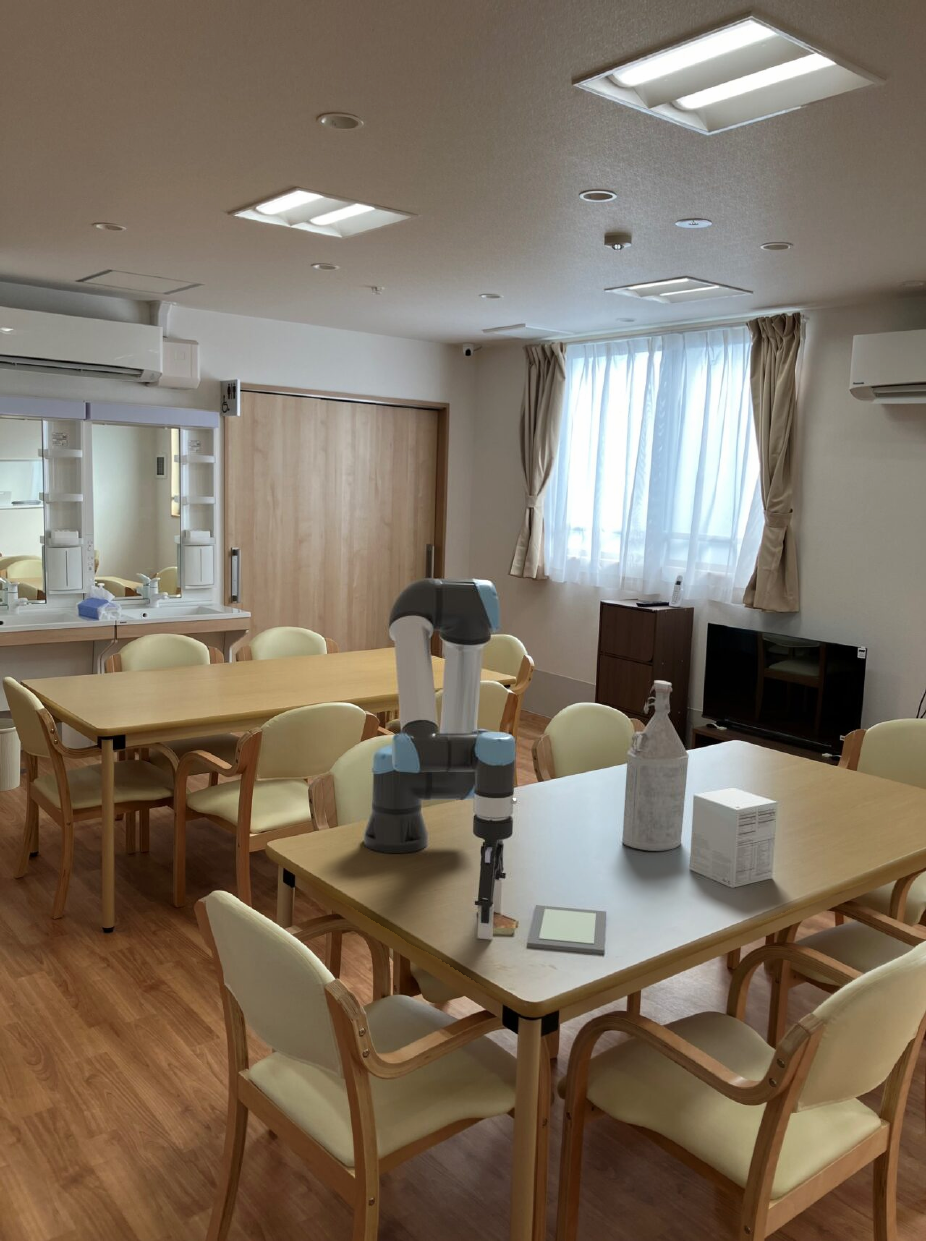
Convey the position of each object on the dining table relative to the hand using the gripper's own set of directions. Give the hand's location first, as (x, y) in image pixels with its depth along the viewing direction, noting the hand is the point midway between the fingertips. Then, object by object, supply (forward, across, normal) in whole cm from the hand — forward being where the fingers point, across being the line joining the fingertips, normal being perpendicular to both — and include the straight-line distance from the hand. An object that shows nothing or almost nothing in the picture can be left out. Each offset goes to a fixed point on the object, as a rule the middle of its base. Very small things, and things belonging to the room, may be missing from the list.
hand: (489, 924), depth 193 cm
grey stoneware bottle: (0, +57, -32) cm, 65 cm away
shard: (+1, 0, 0) cm, 1 cm away
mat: (0, +1, -15) cm, 15 cm away
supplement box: (0, +40, -49) cm, 63 cm away
